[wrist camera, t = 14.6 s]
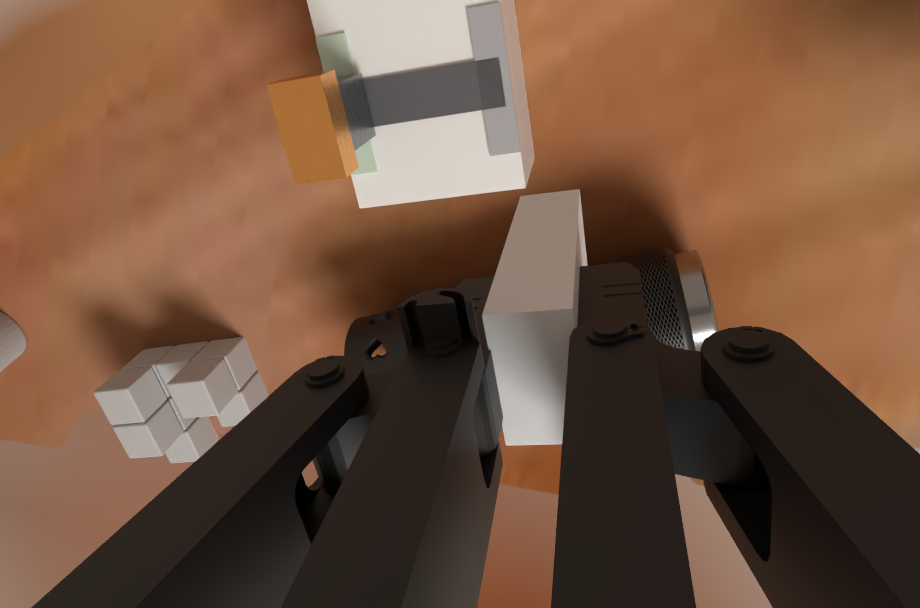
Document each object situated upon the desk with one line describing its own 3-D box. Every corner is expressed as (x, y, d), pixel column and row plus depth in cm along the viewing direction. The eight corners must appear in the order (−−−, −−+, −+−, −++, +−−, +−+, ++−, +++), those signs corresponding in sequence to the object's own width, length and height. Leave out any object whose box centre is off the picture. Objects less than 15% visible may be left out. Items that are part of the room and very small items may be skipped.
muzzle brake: (369, 292, 59) (328, 350, 50) (687, 217, 50) (708, 271, 41) (404, 378, 62) (373, 447, 53) (707, 322, 54) (730, 392, 45)
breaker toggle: (364, 58, 41) (320, 75, 34) (384, 146, 43) (346, 177, 36) (318, 67, 42) (266, 84, 35) (340, 152, 44) (295, 184, 37)
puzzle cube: (189, 440, 71) (146, 490, 65) (143, 348, 67) (91, 392, 60) (285, 432, 68) (250, 484, 61) (244, 335, 63) (202, 380, 57)
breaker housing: (508, -42, 44) (492, -45, 37) (534, 158, 50) (525, 188, 43) (347, -8, 47) (304, -5, 40) (390, 177, 53) (358, 209, 46)
